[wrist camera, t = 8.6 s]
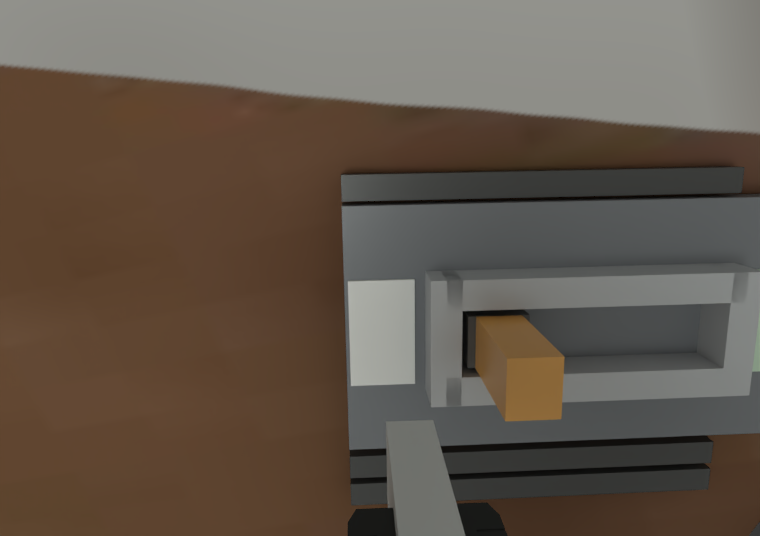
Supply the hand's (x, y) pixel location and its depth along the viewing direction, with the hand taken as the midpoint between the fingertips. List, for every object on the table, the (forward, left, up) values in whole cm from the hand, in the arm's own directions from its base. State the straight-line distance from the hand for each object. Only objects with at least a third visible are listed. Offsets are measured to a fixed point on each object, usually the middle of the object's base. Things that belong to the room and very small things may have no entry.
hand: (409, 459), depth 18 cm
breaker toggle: (+6, 0, -13) cm, 15 cm away
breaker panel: (+11, -1, -16) cm, 19 cm away
